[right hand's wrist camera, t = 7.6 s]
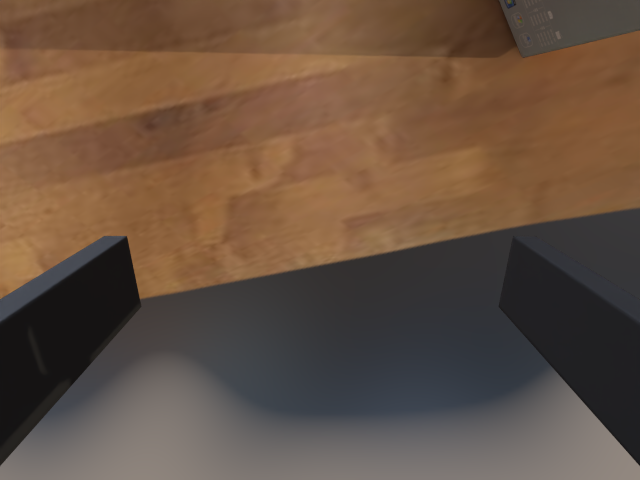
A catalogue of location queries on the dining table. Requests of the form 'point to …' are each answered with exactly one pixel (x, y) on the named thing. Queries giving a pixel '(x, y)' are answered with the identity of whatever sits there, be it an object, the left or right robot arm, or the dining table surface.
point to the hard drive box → (567, 22)
